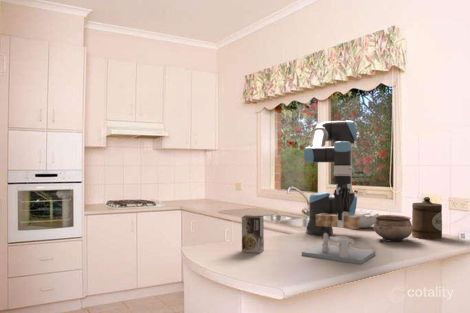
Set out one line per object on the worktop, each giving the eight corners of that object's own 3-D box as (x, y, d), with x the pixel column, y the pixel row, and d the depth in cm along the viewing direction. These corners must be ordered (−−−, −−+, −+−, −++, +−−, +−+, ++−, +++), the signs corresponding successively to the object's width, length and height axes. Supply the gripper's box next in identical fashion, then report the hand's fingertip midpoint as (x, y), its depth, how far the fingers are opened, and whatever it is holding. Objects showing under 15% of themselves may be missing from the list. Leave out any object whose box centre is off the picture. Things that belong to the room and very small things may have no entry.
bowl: (362, 224, 258) (362, 208, 258) (386, 228, 239) (386, 212, 239) (337, 226, 249) (337, 210, 249) (359, 231, 230) (359, 214, 231)
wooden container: (442, 240, 203) (441, 198, 204) (411, 238, 210) (410, 197, 211) (442, 235, 216) (441, 196, 217) (413, 233, 223) (412, 195, 224)
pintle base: (300, 255, 170) (300, 235, 170) (319, 247, 187) (319, 228, 187) (360, 264, 155) (359, 242, 155) (374, 254, 172) (374, 234, 173)
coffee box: (264, 250, 181) (264, 215, 181) (260, 253, 175) (260, 217, 175) (245, 248, 184) (245, 214, 184) (241, 251, 178) (241, 216, 178)
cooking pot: (399, 246, 188) (399, 221, 188) (363, 240, 202) (363, 217, 203) (421, 239, 205) (421, 216, 205) (387, 234, 219) (386, 213, 219)
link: (315, 225, 180) (315, 214, 180) (321, 223, 186) (321, 213, 186) (355, 229, 169) (355, 218, 169) (360, 227, 175) (360, 216, 175)
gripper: (343, 175, 167) (344, 230, 167) (356, 175, 182) (357, 225, 181) (327, 175, 172) (327, 228, 171) (341, 174, 186) (341, 223, 185)
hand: (342, 226), depth 176 cm, fingers closed on link, 4 cm apart
